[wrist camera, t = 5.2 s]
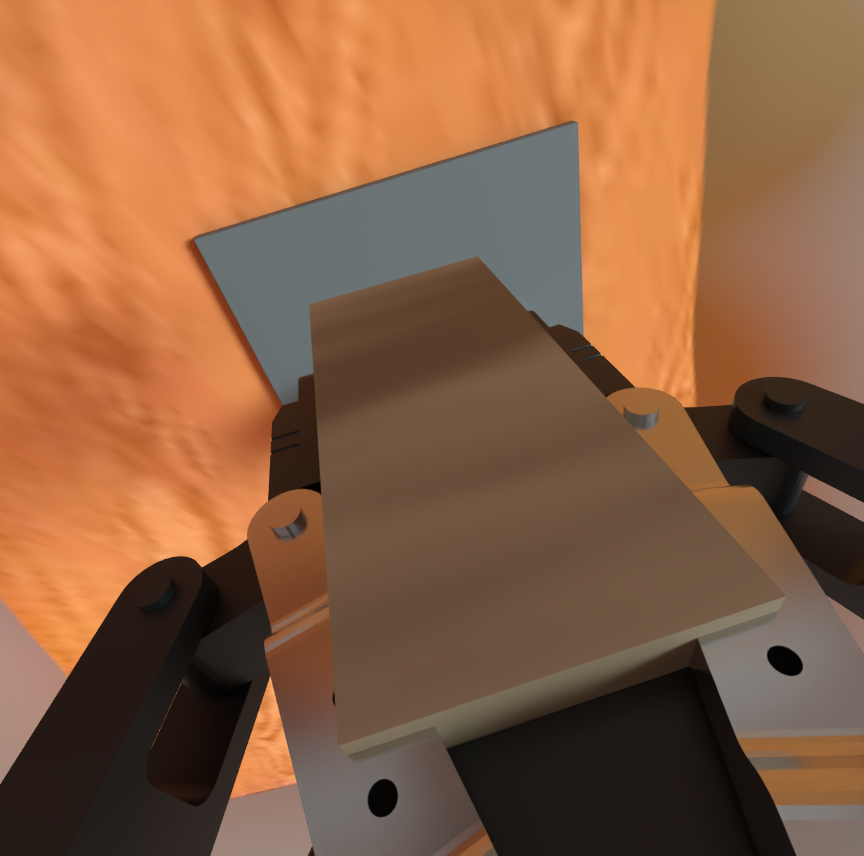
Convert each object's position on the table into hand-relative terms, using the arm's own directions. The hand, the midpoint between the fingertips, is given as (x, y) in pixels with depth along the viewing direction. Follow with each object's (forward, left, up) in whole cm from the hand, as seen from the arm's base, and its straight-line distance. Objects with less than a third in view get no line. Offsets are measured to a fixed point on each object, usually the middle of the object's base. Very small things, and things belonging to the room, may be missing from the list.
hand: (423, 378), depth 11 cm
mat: (+10, +2, -15) cm, 18 cm away
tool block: (0, 0, -1) cm, 1 cm away
